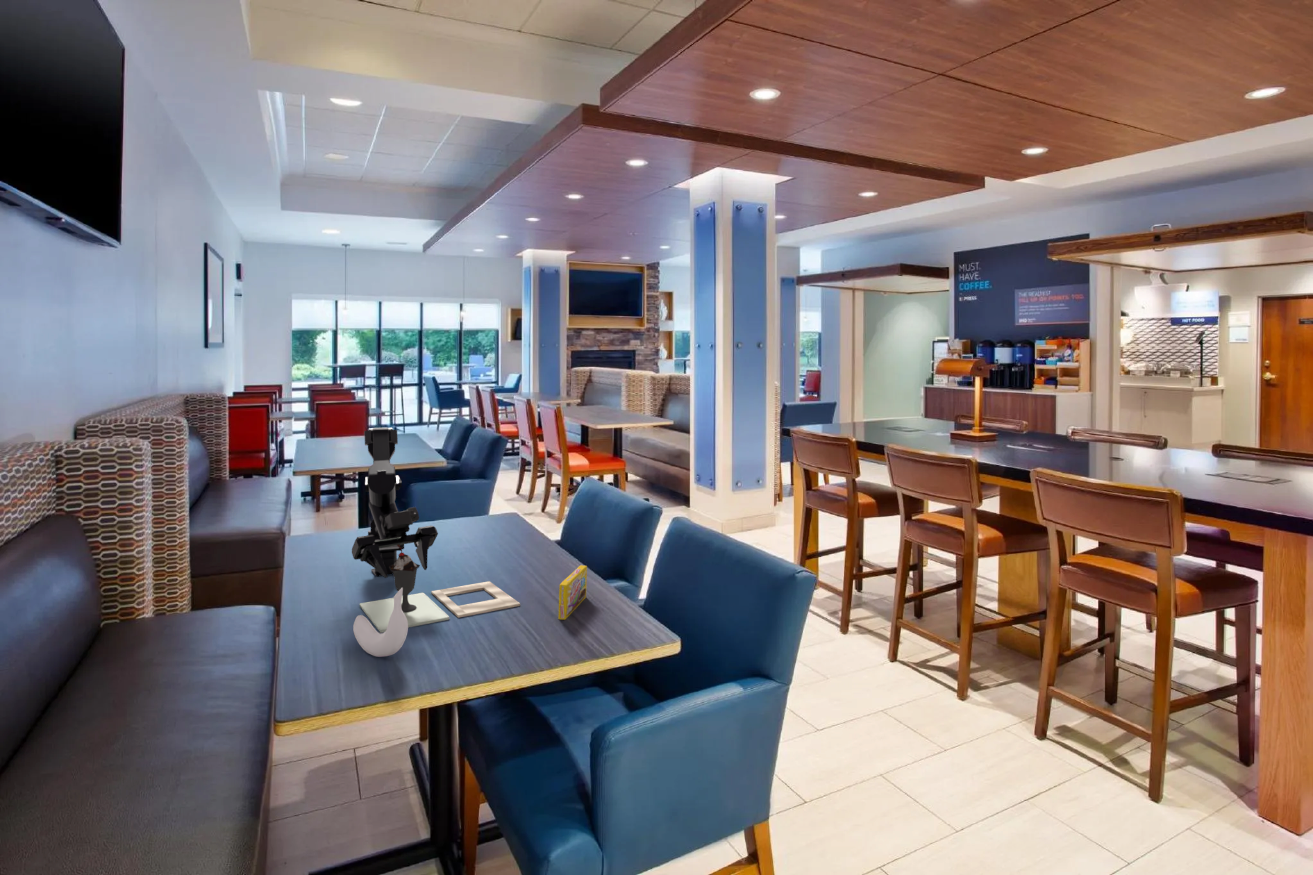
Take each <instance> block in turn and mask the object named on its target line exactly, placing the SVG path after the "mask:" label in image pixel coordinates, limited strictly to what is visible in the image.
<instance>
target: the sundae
mask: <svg viewBox="0 0 1313 875" xmlns="http://www.w3.org/2000/svg"><path fill="white" fill-rule="evenodd" d="M397 546H398V547H399V548H400V549H401V547H400V546H399V545H397ZM420 566H421V564H418V563H416V562H414V561H413V560H412V557H411V556H409V555H408V554H405V553H404V552H403V549H401V552H399V554H397V560H396V561H395V564H394V565H391V566H389V568H390V570H391V571H392V572H393V574H392V575H393V580H394V585H395V590H396V591H397V592H398V591H399V590H400V589H401V588H403V593H402V596H403V601H402V604H401V608H402V611H403V612H411V611H414V610H415V609H416V608H417V607H416V606H415V605H412V604H409V602H408V595H410V593H412V591H413V590H414V589H415V586H416V579H417V571H418V569H419V568H420Z"/></svg>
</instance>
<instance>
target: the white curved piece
mask: <svg viewBox="0 0 1313 875" xmlns="http://www.w3.org/2000/svg"><path fill="white" fill-rule="evenodd" d="M402 593H403V588H401V589H400V590H399V591H397V592H396V593H395V595H394V596H393V598H394V608H393V611H392V614H391V616H390V619H389V623H388V626H387V630H386V631H385V632H382V633H380V631H377V630H376V627H375V626H373V625H372V624H373V623H372V622H371V621H369V620H370V619H369V618H367V616H364V615H363V614H359V615H357V616H356V617H355V620H354V622H353V626H352V629H353V634H354V637H355V639H356V641H357V643H358V644H359V646H360V647H361V648H362V649H363V651H364V652H366V653H367V654H369V655H371V656H373V657H377V658H378V657H379V658H380V657H381V658H382V657H388V656H389V657H390V656H392V655H394V654H396V653H397V652H398V651H400V650H401V649H402V647H403V645H404V643H405V641H406V639H407V635H408V630H409V627H408V621H407V618H406V616H405V614H404V613H403V611H402V608H401V600H402V596H403V595H402Z"/></svg>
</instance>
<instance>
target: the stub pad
mask: <svg viewBox="0 0 1313 875" xmlns="http://www.w3.org/2000/svg"><path fill="white" fill-rule="evenodd" d="M402 601H403V595H402V600H401V604H402ZM408 602H409V604H412V605H415V606H416V607H417V608H416V609H415V610H414V611H411V612H403V613H404V614H405V616H406V618H407V621H408V628H412V627H418V626H423V625H428V624H433V623H437V622H444V621H448V620H449V621H450V616H449V615H448V614H447V613H446V612H445V610H443V609H441V608H440V606H438V605H437V604H436V603H435V602H434V601H433V600H432V599H431V598H430V597H429V596H428V595H427V594H425V593H424V592H419V593H414V594H413V593H412V594H408ZM359 608H360V609H362V611H363V612H364V613H365V615H366V617H368V620H370V622H371V624H373V625H374V627H375V629H377V630H378V632H379V633H380V634H382V633H384V632H385V631H386V630H387V626H388V623H389V619H390V616H391V614H392V611H393V608H394V597H389V598H385V599H378V600H372V601H367V602H361V603H359Z"/></svg>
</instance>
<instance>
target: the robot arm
mask: <svg viewBox="0 0 1313 875" xmlns="http://www.w3.org/2000/svg"><path fill="white" fill-rule="evenodd" d="M363 433H364V446H367V451H368V454H369V456H370V457H371V459H372V461H373V464H372V465H370V466H369V467H368V470H367V472H368V473H367V474H368V476H365V480H364V485H365V486H364V489H365V492H366V493H368V492H369V493H368V495H369V501H368V507H369V510H370V513H371V515H372V518H373V519H372V520H371V522H370V530H367V535H362V536H357V537H356V539H355V540H354V543H353V545H352V547H351V555H352V558H353V560H356V561H357V560H360V562H362V563H363V562H365V563H366V564H368V565H369V566H370V567H372V569H371V568H370V569H371V573H373V575H375V577H384V578H388V576H390V575H393V572H392V571H391V570H390V568H389V566H391V565H394V564H395V561H396V560H397V559H398V552H400V551H401V549H402V550H404V549H405V545H407V544H412V543H413V544H414V547H416V549H415V553H416V555H417V558H418V561H419V562H420V566H421V567H422V569H423V571H426V570H427V569H428V550H429V549H430V547H432V546H433V544H434V543H435V541H436V539H437V537H438V535H439V532H438V530H437V528H436V527H435V525H426V526H420V527H418V528H417V530H416V532H415V533H413V534H407V533H408V532H409V531H410V526H411V525H414V522H417V521H419V520H420V515H419V512H418V509H417V507H416V506H415V507H414V506H413V507H408V508H407V509H406V510H403V511H399V510H398V508H397V505H396V502H395V501H396V495H397V494H396V493H397V491H399V490H400V489H401V488H402V486H403V485H402V479H401V478H400V476H399V475H396V467H395V466H394V465H393V464H392V463H391V460H392V457H393V456H394V454H395V452H396V445H398V444H399V443H398V430H397V429H393V427H373V428H368V430H364V432H363ZM397 545H399V546H400V547H401V549H400V548H399V547H398V546H397Z"/></svg>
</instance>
